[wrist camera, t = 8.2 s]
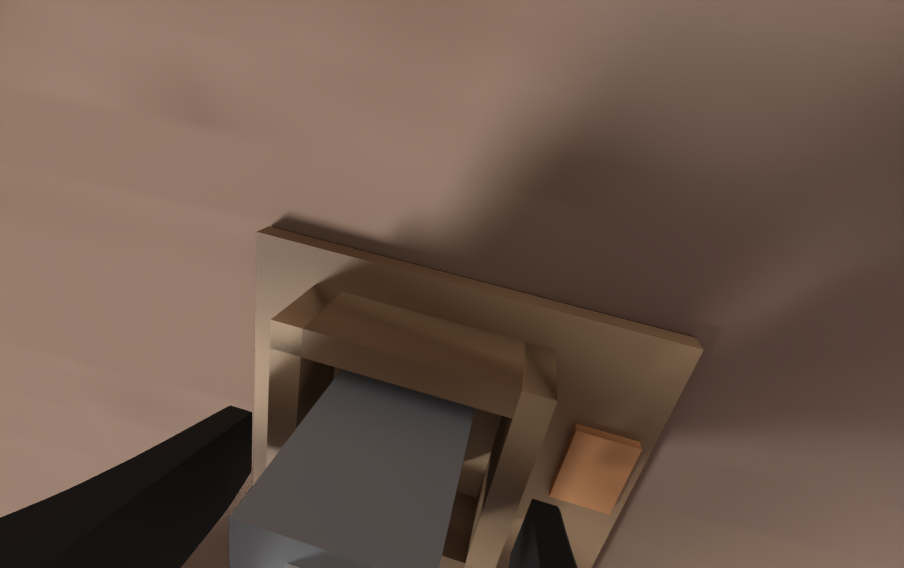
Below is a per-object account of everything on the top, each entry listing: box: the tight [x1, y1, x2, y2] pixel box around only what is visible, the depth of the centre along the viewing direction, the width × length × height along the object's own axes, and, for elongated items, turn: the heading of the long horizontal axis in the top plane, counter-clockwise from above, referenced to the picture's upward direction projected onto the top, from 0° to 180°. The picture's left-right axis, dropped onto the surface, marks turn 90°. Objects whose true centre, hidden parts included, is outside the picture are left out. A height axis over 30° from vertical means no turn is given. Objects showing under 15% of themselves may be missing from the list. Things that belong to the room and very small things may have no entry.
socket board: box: [253, 226, 704, 568], centre depth 14 cm, size 18×12×3 cm, turn 168°
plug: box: [229, 369, 475, 568], centre depth 10 cm, size 4×4×7 cm
